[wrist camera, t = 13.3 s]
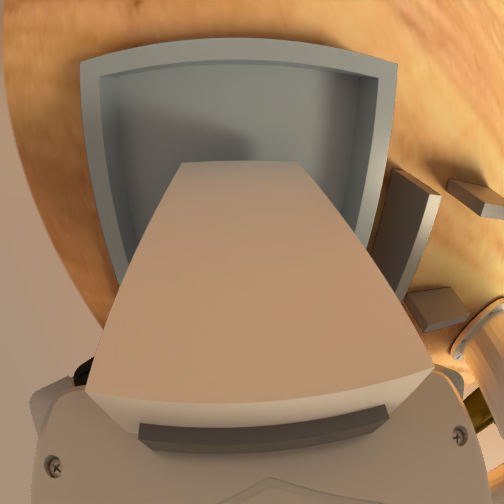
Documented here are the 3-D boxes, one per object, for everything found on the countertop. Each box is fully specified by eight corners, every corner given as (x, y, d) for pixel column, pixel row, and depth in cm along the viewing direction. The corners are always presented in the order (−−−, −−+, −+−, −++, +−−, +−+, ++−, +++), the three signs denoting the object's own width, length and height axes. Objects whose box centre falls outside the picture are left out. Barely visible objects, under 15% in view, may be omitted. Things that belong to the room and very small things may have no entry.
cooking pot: (519, 359, 55) (536, 393, 40) (475, 400, 68) (488, 432, 53) (501, 363, 47) (524, 408, 32) (445, 411, 60) (461, 453, 45)
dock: (489, 188, 16) (520, 210, 12) (446, 294, 22) (465, 321, 19) (392, 168, 15) (429, 194, 11) (353, 307, 21) (369, 344, 18)
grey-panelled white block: (298, 161, 11) (442, 381, 3) (281, 308, 16) (314, 477, 8) (182, 162, 11) (79, 409, 2) (199, 311, 16) (192, 485, 8)
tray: (368, 65, 11) (397, 64, 9) (320, 326, 22) (329, 354, 20) (106, 64, 10) (79, 62, 7) (155, 332, 21) (150, 361, 19)
